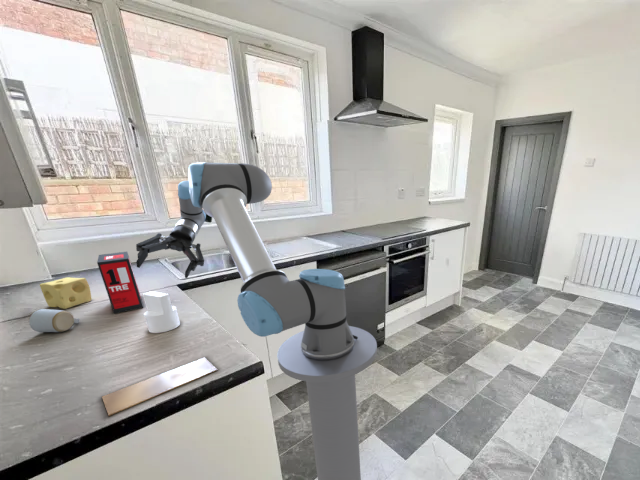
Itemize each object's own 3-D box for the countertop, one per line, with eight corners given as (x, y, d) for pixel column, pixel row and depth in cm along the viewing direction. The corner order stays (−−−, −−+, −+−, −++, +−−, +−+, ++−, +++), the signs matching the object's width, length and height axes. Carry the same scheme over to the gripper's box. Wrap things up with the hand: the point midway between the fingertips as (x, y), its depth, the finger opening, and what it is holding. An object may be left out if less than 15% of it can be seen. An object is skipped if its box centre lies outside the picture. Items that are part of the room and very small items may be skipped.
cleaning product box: (114, 301, 129) (98, 254, 122) (140, 296, 134) (127, 251, 128) (114, 313, 117) (97, 262, 110) (143, 307, 122) (128, 258, 116)
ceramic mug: (58, 335, 100) (49, 314, 98) (33, 336, 100) (24, 314, 98) (88, 322, 110) (81, 302, 108) (65, 322, 110) (58, 302, 108)
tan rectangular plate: (204, 358, 86) (204, 357, 86) (217, 370, 80) (217, 369, 80) (102, 397, 71) (101, 396, 71) (108, 416, 65) (108, 415, 65)
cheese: (65, 309, 122) (55, 285, 118) (46, 307, 124) (36, 283, 121) (94, 300, 131) (86, 277, 128) (76, 298, 134) (68, 276, 130)
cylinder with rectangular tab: (186, 323, 108) (178, 291, 104) (160, 334, 100) (150, 300, 96) (168, 319, 111) (160, 288, 107) (142, 330, 103) (132, 296, 99)
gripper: (219, 250, 124) (203, 286, 108) (145, 231, 114) (117, 268, 99) (221, 235, 119) (205, 271, 104) (144, 214, 110) (115, 250, 94)
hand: (162, 269), depth 101 cm, fingers open, 13 cm apart
